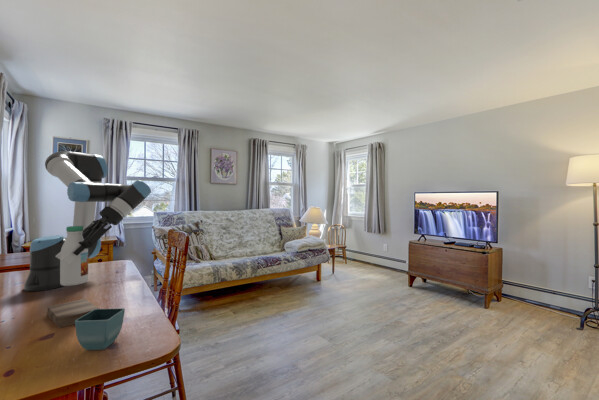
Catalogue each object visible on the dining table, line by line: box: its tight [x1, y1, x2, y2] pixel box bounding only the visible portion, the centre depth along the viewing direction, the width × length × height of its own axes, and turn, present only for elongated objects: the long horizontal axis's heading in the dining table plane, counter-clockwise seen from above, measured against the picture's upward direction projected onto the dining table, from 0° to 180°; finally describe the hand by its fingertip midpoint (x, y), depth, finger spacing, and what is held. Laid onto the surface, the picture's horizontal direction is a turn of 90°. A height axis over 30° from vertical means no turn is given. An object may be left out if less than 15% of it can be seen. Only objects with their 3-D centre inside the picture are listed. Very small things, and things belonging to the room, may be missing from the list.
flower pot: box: [74, 307, 126, 351], centre depth 80 cm, size 9×9×9 cm
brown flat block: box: [46, 298, 100, 329], centre depth 100 cm, size 16×11×3 cm
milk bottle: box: [60, 225, 89, 287], centre depth 100 cm, size 8×8×20 cm
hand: (62, 260), depth 97 cm, fingers closed on milk bottle, 7 cm apart
